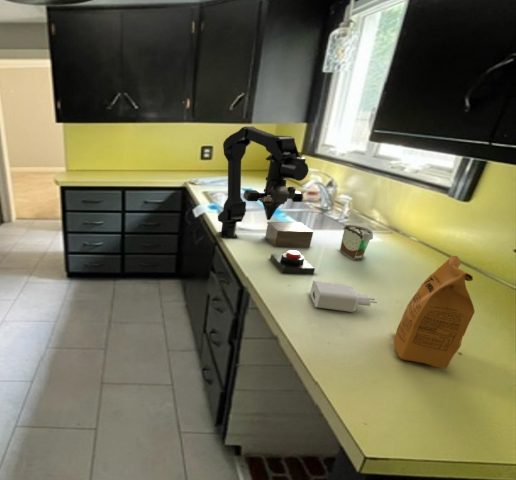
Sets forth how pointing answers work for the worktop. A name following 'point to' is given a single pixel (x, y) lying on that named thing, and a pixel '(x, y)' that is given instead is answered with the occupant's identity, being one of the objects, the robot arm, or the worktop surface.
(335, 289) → the charger
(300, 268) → the button box
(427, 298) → the coffee package
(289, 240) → the chest
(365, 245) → the food container
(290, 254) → the button
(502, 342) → the worktop surface
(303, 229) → the lid
